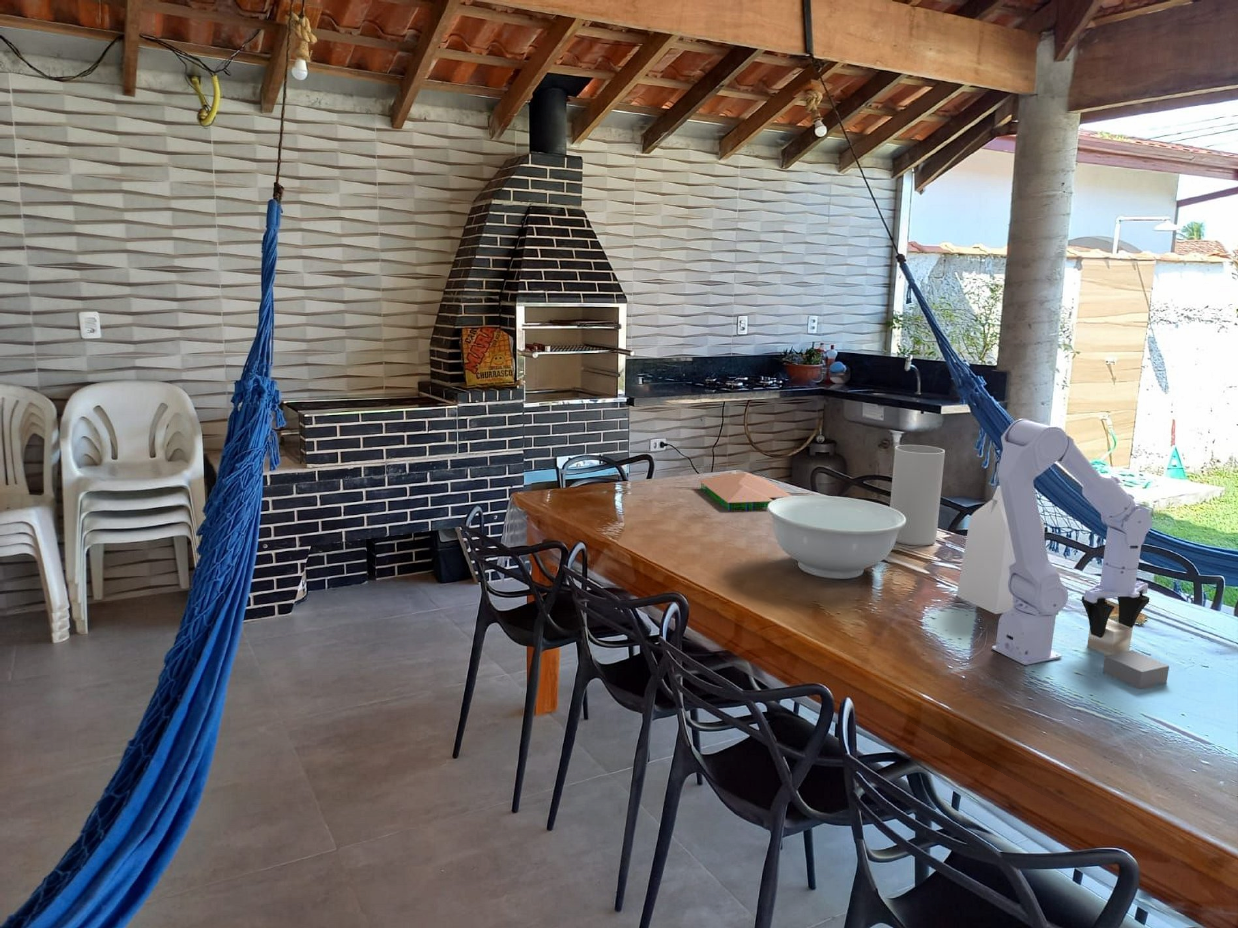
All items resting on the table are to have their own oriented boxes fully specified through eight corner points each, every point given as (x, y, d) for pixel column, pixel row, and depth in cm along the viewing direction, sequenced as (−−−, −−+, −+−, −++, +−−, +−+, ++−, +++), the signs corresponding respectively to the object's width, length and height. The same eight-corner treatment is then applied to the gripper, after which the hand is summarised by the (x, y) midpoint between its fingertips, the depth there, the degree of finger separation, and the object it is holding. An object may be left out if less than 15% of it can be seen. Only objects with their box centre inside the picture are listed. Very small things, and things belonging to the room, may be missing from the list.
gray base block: (1138, 690, 149) (1141, 671, 149) (1102, 673, 156) (1105, 655, 155) (1166, 684, 152) (1169, 665, 151) (1129, 668, 158) (1132, 650, 158)
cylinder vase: (888, 544, 231) (896, 451, 226) (886, 531, 243) (893, 443, 238) (938, 548, 228) (947, 455, 223) (933, 535, 240) (942, 446, 235)
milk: (998, 589, 197) (1011, 478, 192) (1038, 607, 187) (1053, 490, 182) (956, 595, 193) (968, 481, 188) (995, 614, 183) (1009, 494, 177)
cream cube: (1110, 656, 163) (1114, 631, 162) (1087, 646, 167) (1090, 622, 166) (1128, 653, 165) (1132, 628, 164) (1105, 642, 169) (1108, 618, 168)
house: (760, 485, 297) (761, 462, 295) (798, 510, 265) (800, 484, 263) (695, 487, 292) (696, 463, 290) (727, 513, 260) (728, 486, 259)
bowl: (917, 564, 214) (922, 507, 211) (876, 602, 188) (882, 537, 185) (794, 541, 232) (797, 488, 229) (741, 573, 205) (744, 513, 202)
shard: (1103, 605, 191) (1105, 597, 190) (1144, 611, 187) (1145, 603, 187) (1106, 621, 181) (1107, 613, 181) (1148, 628, 178) (1150, 620, 177)
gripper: (1112, 575, 156) (1102, 646, 159) (1167, 566, 162) (1156, 634, 164) (1078, 563, 162) (1069, 632, 165) (1132, 555, 168) (1122, 621, 171)
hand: (1110, 632), depth 165 cm, fingers open, 7 cm apart
